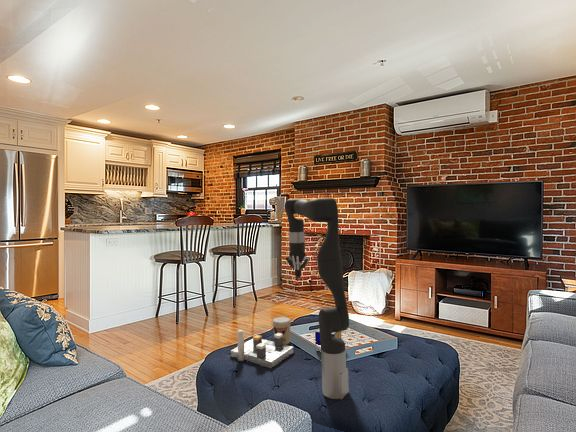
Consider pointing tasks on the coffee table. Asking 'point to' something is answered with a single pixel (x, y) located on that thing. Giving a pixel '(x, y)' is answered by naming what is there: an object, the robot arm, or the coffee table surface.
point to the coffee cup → (282, 328)
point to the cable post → (240, 345)
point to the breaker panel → (272, 353)
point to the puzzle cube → (335, 334)
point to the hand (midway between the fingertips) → (298, 277)
